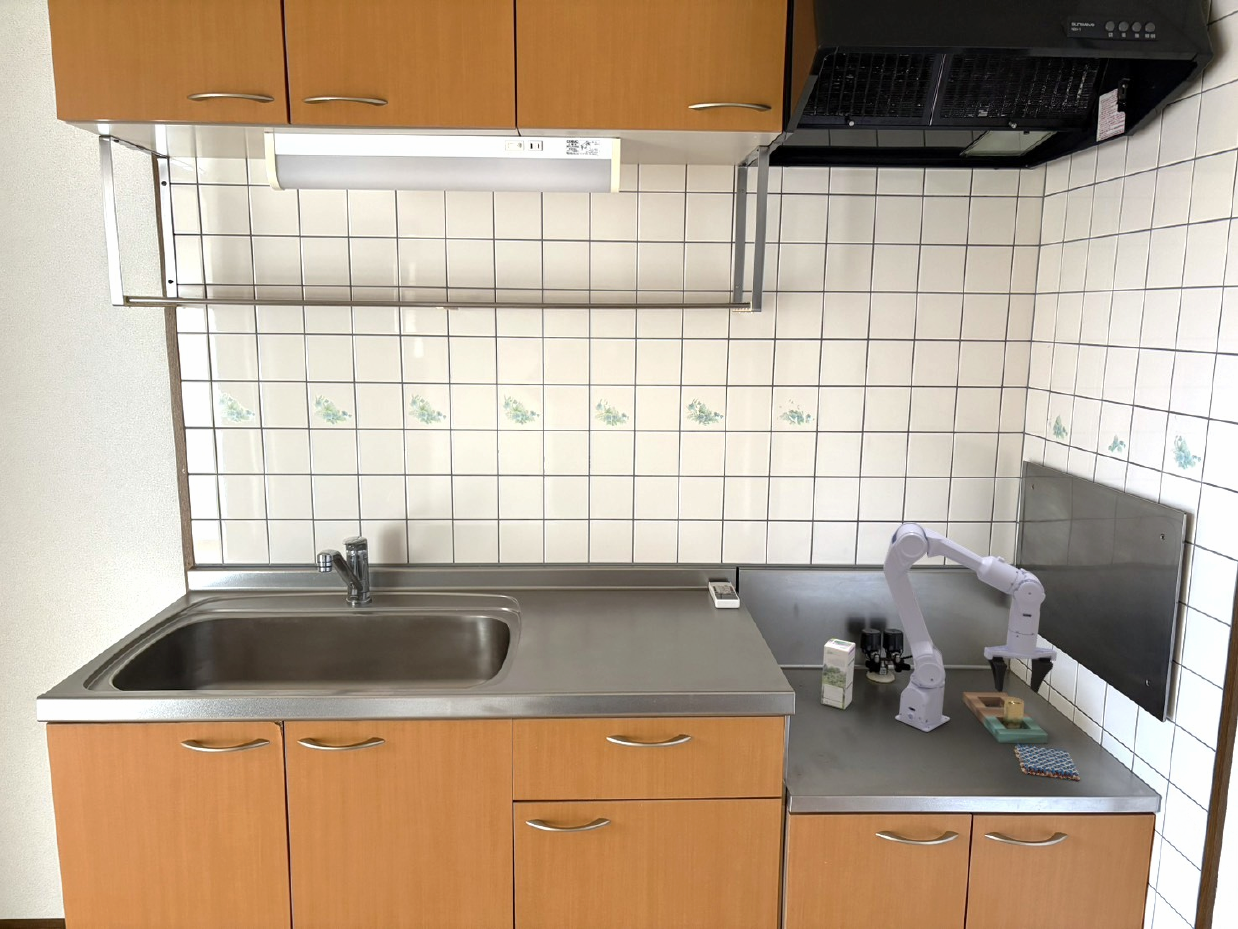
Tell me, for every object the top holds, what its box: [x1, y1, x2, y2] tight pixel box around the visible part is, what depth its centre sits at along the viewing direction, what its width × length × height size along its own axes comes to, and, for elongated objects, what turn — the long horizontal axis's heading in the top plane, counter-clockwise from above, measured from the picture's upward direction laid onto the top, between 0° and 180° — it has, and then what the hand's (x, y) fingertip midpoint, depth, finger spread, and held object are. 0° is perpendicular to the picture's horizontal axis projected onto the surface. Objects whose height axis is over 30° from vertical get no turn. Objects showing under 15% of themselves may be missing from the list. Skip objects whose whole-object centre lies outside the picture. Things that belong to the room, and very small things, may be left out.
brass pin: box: [1002, 696, 1025, 729], centre depth 184 cm, size 4×4×7 cm
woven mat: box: [1013, 743, 1081, 781], centre depth 171 cm, size 10×11×2 cm
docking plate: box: [961, 691, 1048, 744], centre depth 189 cm, size 20×10×2 cm, turn 0°
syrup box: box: [820, 638, 856, 710], centre depth 195 cm, size 6×6×14 cm
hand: (1016, 690), depth 182 cm, fingers open, 7 cm apart
